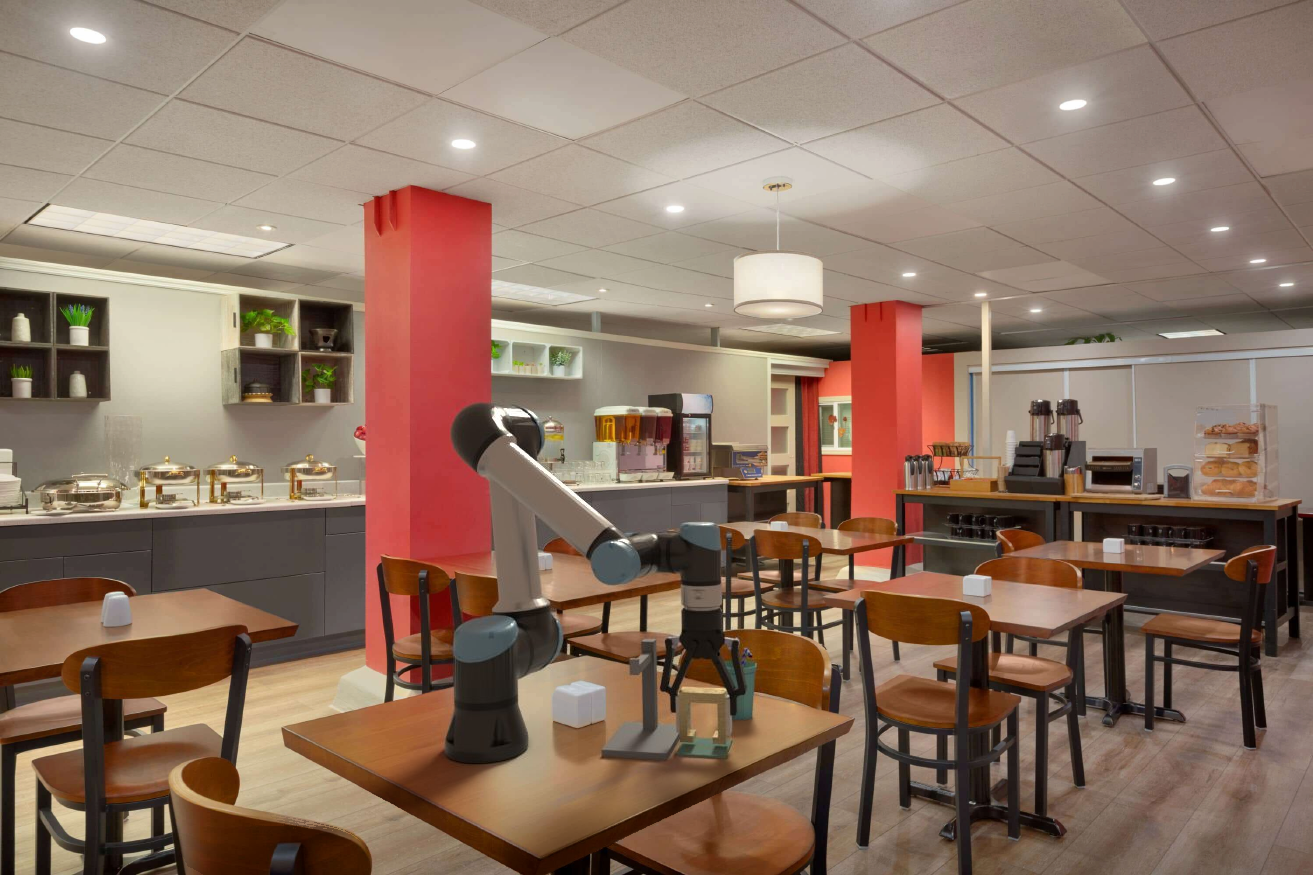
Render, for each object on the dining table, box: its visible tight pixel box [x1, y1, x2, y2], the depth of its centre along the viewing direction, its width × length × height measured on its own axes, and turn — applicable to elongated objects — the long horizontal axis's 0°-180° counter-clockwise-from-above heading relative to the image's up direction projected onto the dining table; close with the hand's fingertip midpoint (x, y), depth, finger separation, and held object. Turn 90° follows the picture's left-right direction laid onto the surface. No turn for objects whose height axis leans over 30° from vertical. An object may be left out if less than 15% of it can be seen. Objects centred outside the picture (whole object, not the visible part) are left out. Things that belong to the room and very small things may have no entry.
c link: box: [678, 686, 730, 745], centre depth 151 cm, size 8×4×9 cm, turn 77°
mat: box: [675, 736, 733, 759], centre depth 151 cm, size 9×9×1 cm
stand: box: [600, 638, 680, 761], centre depth 155 cm, size 12×16×18 cm
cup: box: [723, 647, 758, 721], centre depth 169 cm, size 14×8×15 cm, turn 12°
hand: (704, 731), depth 151 cm, fingers closed on c link, 8 cm apart
